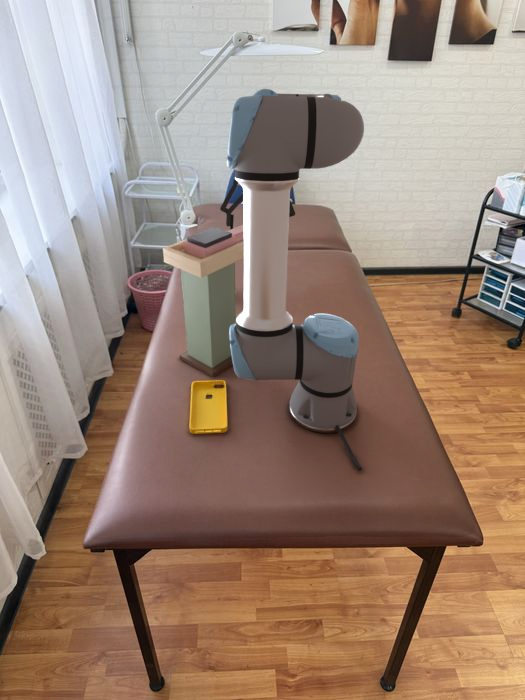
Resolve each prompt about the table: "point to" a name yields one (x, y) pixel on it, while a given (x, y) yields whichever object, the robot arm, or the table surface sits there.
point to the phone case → (208, 407)
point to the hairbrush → (212, 241)
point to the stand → (207, 304)
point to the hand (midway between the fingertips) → (255, 241)
